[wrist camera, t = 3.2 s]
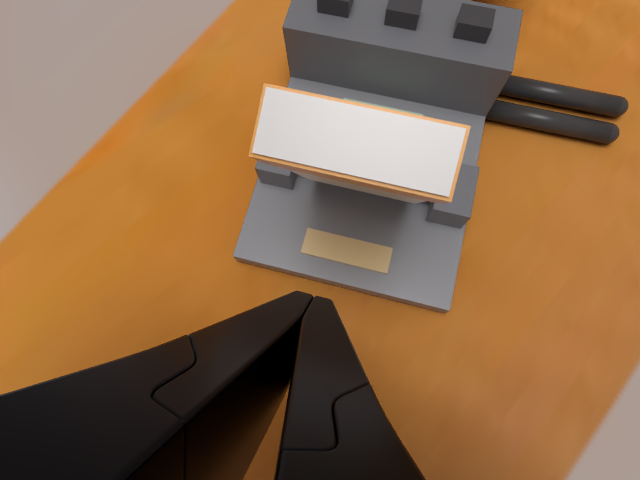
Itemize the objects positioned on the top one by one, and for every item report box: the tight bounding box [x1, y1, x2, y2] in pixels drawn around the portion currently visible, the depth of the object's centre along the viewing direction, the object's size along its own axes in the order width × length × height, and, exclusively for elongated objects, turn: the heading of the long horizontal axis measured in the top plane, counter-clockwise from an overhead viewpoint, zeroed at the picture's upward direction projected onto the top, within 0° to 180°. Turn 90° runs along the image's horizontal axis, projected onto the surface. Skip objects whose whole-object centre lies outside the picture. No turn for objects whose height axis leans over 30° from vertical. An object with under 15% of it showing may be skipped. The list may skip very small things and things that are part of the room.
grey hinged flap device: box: [233, 0, 628, 313], centre depth 20 cm, size 13×17×5 cm
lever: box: [249, 83, 471, 204], centre depth 15 cm, size 2×5×9 cm, turn 75°
